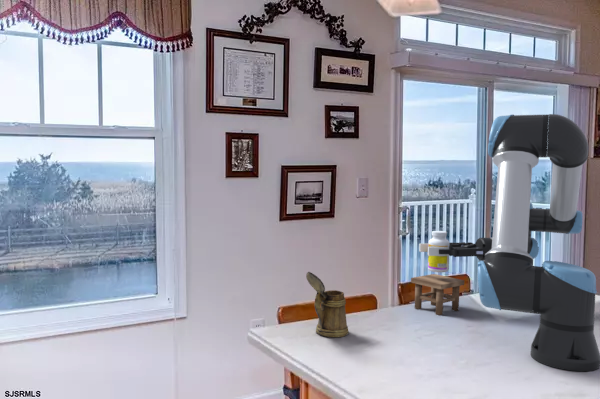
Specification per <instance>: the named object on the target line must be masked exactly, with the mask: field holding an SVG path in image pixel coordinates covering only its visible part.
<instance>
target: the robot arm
mask: <svg viewBox="0 0 600 399" xmlns="http://www.w3.org/2000/svg"><path fill="white" fill-rule="evenodd" d="M588 142H589V141H588V140H587V136H586V135H585V133H584V132H583V130H582V129H581V128H580V127H579V126H578V124H577V123H575V121H573V120H572V119H570V118H568V117H567V116H564V115H561V114H556V113H555V114H554V113H549V114H518V115H517V114H509V115H499V116H496V118H494V120H493V122H492V124H491V128H490V131H489V137H488V144H487V155H488V156H489V157H490V158H492V162H493V164H494V165H495V166H497V174H496V175H497V178H496V190H495V200H494V201H495V204H494V213H493V214H494V215H493V226H492V227H493V229H492V237H479V238H477V239H476V241H475V243H473V242H464V241H463V242H449V243H450V245H449V249H448V247H428V243H429V242H428V243H426V242H423V243H419V245H418V246H419V247H418V249H419V250H418V251H419V252H420V253H427V257H428V256H448V254H449V257H453V258H457V257H458V258H460V257H462V258H464V257H466V258H467V257H476V258H477V259H478V260H479V261H478V262H477V283H478V284H477V285H478V293H479V299H480V303H481V305H482V306H484V307H485V308H490V309H495V310H498V311H502V310H504V311H512V312H517V313H518V312H520V313H525V314H526V313H527V314H535V315H539V316H540V317H539V326H538V328H537V331H536V333H535V336H534V338H533V341H532V343H531V345H530V356H531V358H532V359H533V360H535V361H537V362H538V363H540V364H543V365H546V366H548V367H551V368H556V369H560V370H566V371H572V372H574V371H575V372H589V371H592V372H593V371H596V370H598V369H600V349H599V346H598V343H597V339H596V337H595V331H594V329H595V328H594V327H595V310H596V294H597V292H598V291H597V279H596V275H595V273H594V272H592V271H591V270H590V269H588V268H585V267H582V266H580V265H576V264H571V263H567V262H561V261H557V260H556V261H555V260H554V261H553V260H545V261H543V262H542V264H541V266H536V265H534V259H536V258H537V257H538V254H539V252H540V248H539V242H538V241H537V239H536V238H533V237H532V232H538V233H539V232H542V233H554V234H555V233H556V234H564V235H569V234H570V235H571V234H572V235H573V234H577V235H578V234H581V232H582V231H583V230H582V229H583V212H582V211H581V210H578V202H579V196H580V195H579V193H580V189H581V188H580V187H581V186H580V185H581V180H582V173H583V172H582V171H583V165H585V163H586V162H587V161H588V156H589V143H588ZM540 158H549V161H550V162H551V163H552V167H551V168H552V170H551V183H550V185H551V188H550V200H549V201H550V202H549V203H550V204H549V208H539V207H538V208H536V207H533V203H532V202H531V193H532V192H531V191H532V178H533V176H532V175H533V171H532V170H533V168H535V167H536V166H537V165H538V164H539V160H540Z"/></svg>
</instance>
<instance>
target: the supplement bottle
mask: <svg viewBox="0 0 600 399" xmlns="http://www.w3.org/2000/svg"><path fill="white" fill-rule="evenodd" d="M447 235H448V234H447V231H445V230H433V231H431V236H432V238H430V239H429V240H428V247H448V249H449V245H450V243H451V242H450V240H448V239H447ZM427 269H428V271H429V272H433V273H447V272H448V271H449V269H450V256H449V254H448V256H428V255H427Z"/></svg>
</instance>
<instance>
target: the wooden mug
mask: <svg viewBox="0 0 600 399" xmlns="http://www.w3.org/2000/svg"><path fill="white" fill-rule="evenodd" d="M306 280H307V283H308V284H309V285H310V287H312V288H313V290H315V291H316V294H315V298H314V310H315V312H316V315H317V317H318V320H317V321H318V322H317V325H316V328H315V333H316V334H318V335H319V336H321V337H324V338H325V337H326V338H331V339H332V338H333V339H335V338H343V337H346V336H347V335H348V334H349V326H348V324H347V314H346V313H347V312H346V303H347V302H346V298H345V293H344V292H343V291H341V290H335V289H333V290H326V287H325V285H324V283H323V281H322V280H321V279H320V278H319V277H318V276H317V275H316V274H314V273H313V272H311V271H308V272H306Z"/></svg>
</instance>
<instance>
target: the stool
mask: <svg viewBox="0 0 600 399" xmlns="http://www.w3.org/2000/svg"><path fill="white" fill-rule="evenodd" d="M410 283H413V284H414V285H415V288H414V309H415V310H422V305H423V303H422V300H424V301H427V302H430V305H431V306H435V315H436V316H443V315H444V314H443V313H444V304H445V303H450V302H451V311H454V312H459V311H460V310H459V309H460V287H461V286H464V285H465V280H464V279H460V278H455V277H449V276H447V275H440V274H436V273H432V274H427V275H422V276H421V275H420V276H413V277H411V278H410ZM423 286H425V287H428V288H429V287H430V288H431V289H430V291H429V292H427V291H426V292H423ZM450 288H451V290H452V294H448V293H445V292H444V290H445V289H450Z"/></svg>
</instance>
